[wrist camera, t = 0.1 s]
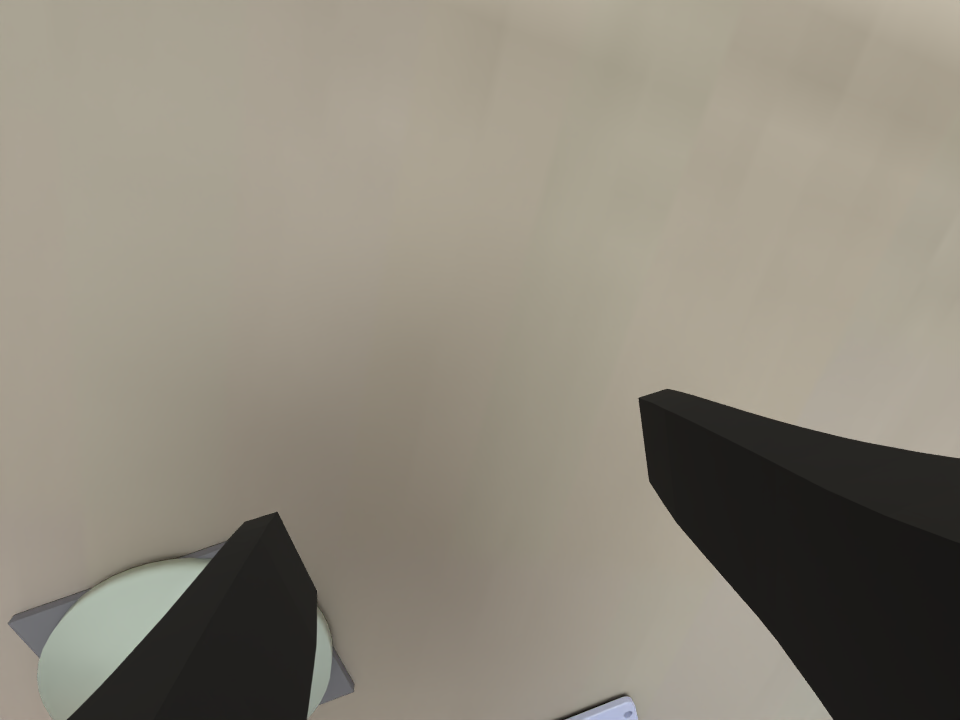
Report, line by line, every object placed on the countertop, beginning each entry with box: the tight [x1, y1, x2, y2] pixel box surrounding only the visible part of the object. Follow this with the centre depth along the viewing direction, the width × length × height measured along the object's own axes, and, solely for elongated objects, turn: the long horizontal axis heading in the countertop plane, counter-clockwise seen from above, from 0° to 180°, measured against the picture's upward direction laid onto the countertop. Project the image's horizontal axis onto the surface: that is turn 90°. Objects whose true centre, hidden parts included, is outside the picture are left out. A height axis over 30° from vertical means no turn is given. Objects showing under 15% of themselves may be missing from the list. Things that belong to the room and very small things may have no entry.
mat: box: [8, 541, 354, 705], centre depth 22 cm, size 10×10×1 cm
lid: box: [37, 558, 333, 720], centre depth 20 cm, size 11×11×5 cm
